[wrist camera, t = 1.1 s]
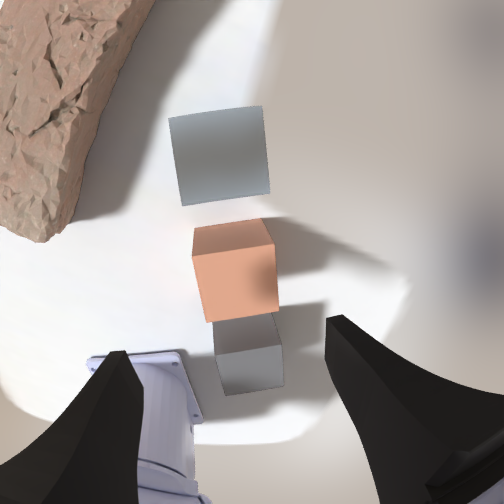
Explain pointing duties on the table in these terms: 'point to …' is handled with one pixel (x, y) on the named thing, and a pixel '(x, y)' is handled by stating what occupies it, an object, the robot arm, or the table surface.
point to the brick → (55, 101)
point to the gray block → (248, 354)
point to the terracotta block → (235, 270)
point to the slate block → (220, 155)
